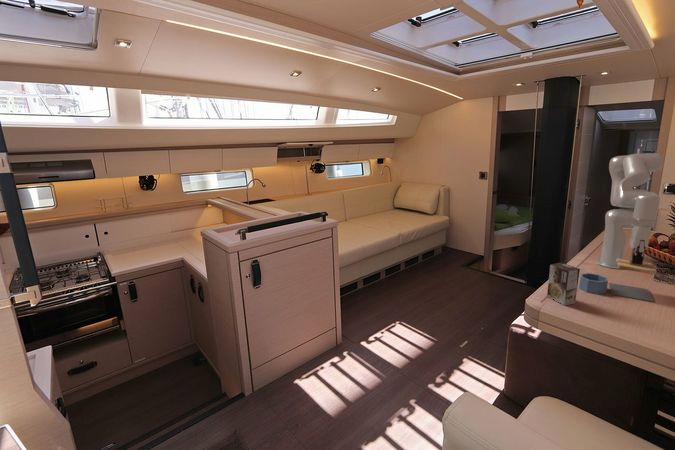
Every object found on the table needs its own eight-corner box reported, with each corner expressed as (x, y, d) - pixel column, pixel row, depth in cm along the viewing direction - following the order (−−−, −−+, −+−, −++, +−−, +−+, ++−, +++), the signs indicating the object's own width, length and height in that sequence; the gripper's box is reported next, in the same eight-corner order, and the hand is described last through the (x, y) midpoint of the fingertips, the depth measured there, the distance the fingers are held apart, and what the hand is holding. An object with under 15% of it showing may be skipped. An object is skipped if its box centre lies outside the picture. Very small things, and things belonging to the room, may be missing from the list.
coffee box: (575, 303, 141) (581, 268, 138) (564, 306, 140) (569, 271, 136) (556, 294, 150) (561, 261, 146) (545, 296, 148) (550, 263, 144)
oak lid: (616, 260, 154) (618, 246, 152) (650, 264, 147) (653, 249, 146) (619, 268, 145) (621, 253, 143) (656, 273, 138) (659, 257, 136)
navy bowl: (578, 283, 161) (580, 271, 159) (604, 287, 155) (606, 275, 154) (579, 290, 153) (580, 279, 151) (606, 295, 147) (608, 283, 146)
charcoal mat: (608, 283, 159) (609, 282, 159) (647, 290, 151) (647, 289, 151) (611, 294, 148) (611, 293, 148) (653, 302, 140) (653, 301, 140)
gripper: (629, 218, 150) (622, 255, 154) (634, 225, 137) (627, 266, 141) (651, 219, 146) (643, 258, 150) (659, 227, 133) (650, 269, 137)
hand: (635, 261), depth 145 cm, fingers closed on oak lid, 4 cm apart
